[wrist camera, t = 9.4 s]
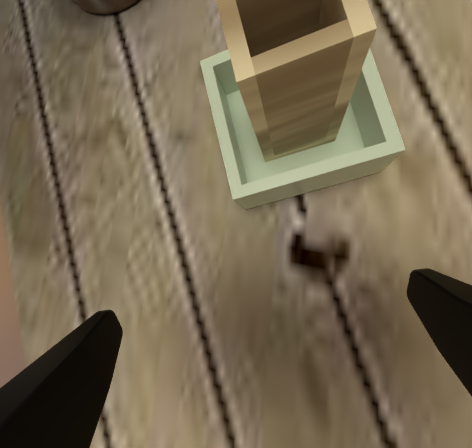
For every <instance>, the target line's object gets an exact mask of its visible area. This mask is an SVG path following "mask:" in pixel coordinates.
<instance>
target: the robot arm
mask: <svg viewBox="0 0 472 448" xmlns="http://www.w3.org/2000/svg"><path fill="white" fill-rule="evenodd" d="M407 297H408V299H409V301H410V303H411V305H412V306H413V308H414V310H415V311H416V313H417V315H418V317H419V318H420V320H421V322H422V323H423V325H424V327H425V328H426V330H427V332H428V334H429V335H430V337H431V339H432V340H433V342H434V344H435V345H436V347H437V348H438V350H439V351H440V353H441V354H442V356H443V357H444V359H445V360H446V361H447V363H448V364H449V366H450V367H451V368H452V370H453V371H454V372H455V374H456V375H457V377H458V378H459V379H460V381H461V382H462V384H463V385H464V386H465V388H466V389H467V390H468V392H469V393H470V395H471V396H472V285H469V284H467V283H464V282H462V281H459V280H457V279H454V278H452V277H449V276H446V275H444V274H441V273H439V272H436V271H434V270H431V269H428V268H425V269H417V270H413V271H412V272H411V273H410V278H409V283H408V288H407ZM122 334H123V331H122V327H121V325H120V323H119V321H118V319H117V317H116V315H115V313H114V312H113V311H112V310H104V311H98V312H96V313H95V314H94V315H92V316H91V317H90V318H89V319H87V320H86V321H85V322H84V323H82V324H81V325H80V326H79V327H77V328H76V329H75V330H73V331H72V332H71V333H70V334H68V335H67V336H66V337H65V338H63V339H62V340H61V341H60V342H58V343H57V344H56V345H54V346H53V347H52V348H51V349H49V350H48V351H47V352H46V353H44V354H43V355H42V356H41V357H39V358H38V359H37V360H35V361H34V362H33V363H32V364H30V365H29V366H28V367H27V368H25V369H24V370H23V371H21V372H20V373H19V374H18V375H16V376H15V377H14V378H13V379H11V380H10V381H9V382H8V383H6V384H5V385H4V386H2V387H1V388H0V448H89V447H90V444H91V441H92V438H93V436H94V433H95V430H96V427H97V424H98V421H99V418H100V415H101V412H102V409H103V406H104V403H105V400H106V397H107V394H108V391H109V388H110V384H111V381H112V377H113V373H114V369H115V364H116V360H117V356H118V352H119V348H120V344H121V339H122Z"/></svg>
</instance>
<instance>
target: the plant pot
mask: <svg viewBox="0 0 472 448" xmlns="http://www.w3.org/2000/svg"><path fill="white" fill-rule="evenodd" d="M73 1H74V2H75V3H76V4H77V5H78V6H79V7H81V8H82V9H83V10H85V11H87V12H90V13H94V14H110V13H114V12H118V11H121V10H123V9H125V8H127V7H129V6H131V5H132V4H134V3H135V2H137V1H138V0H73Z"/></svg>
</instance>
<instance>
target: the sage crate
mask: <svg viewBox="0 0 472 448" xmlns="http://www.w3.org/2000/svg"><path fill="white" fill-rule="evenodd" d="M200 63H201V67H202V72H203V76H204V80H205V84H206V88H207V93H208V97H209V101H210V105H211V109H212V114H213V118H214V122H215V126H216V131H217V135H218V139H219V143H220V147H221V152H222V156H223V160H224V164H225V168H226V173H227V177H228V181H229V185H230V189H231V194H232V198H233V200H234V201H235V202H237V203H238V204H239V205H241V206H242V207H243V208H245V209H249V208H253V207H257V206H260V205H264V204H267V203H271V202H275V201H278V200H282V199H285V198H289V197H293V196H296V195H300V194H303V193H307V192H311V191H314V190H318V189H321V188H325V187H329V186H332V185H336V184H339V183H343V182H347V181H350V180H354V179H357V178H361V177H365V176H368V175H372V174H375V173H379V172H381V171H382V170H383V169H384V168H385V167H387V166H388V165H389V164H390V163H391V162H392V161H393V160H394V159H396V158H397V157H398V156H399V155H400V154H401V153H402V152H404V151H405V150H406V149H405V147H404V144H403V141H402V138H401V135H400V132H399V129H398V127H397V124H396V121H395V118H394V115H393V112H392V110H391V107H390V104H389V101H388V98H387V95H386V92H385V90H384V87H383V84H382V81H381V78H380V75H379V73H378V70H377V67H376V64H375V61H374V58H373V55H372V53H371V50H370V48H369V51H368V53H367V56H366V59H365V61H364V64H363V67H362V70H361V72H360V75H359V78H358V80H357V83H356V86H355V88H354V91H353V94H352V96H351V99H350V102H349V105H348V107H347V110H346V113H345V115H344V118H343V121H342V123H341V126H340V129H339V132H338V134H337V137H336V140H335V141H333V142H330V143H327V144H323V145H320V146H317V147H314V148H310V149H307V150H304V151H300V152H297V153H294V154H291V155H287V156H284V157H281V158H278V159H274V160H271V161H268V162H265V160H264V157H263V154H262V151H261V149H260V146H259V143H258V140H257V137H256V135H255V132H254V129H253V126H252V124H251V121H250V118H249V115H248V113H247V110H246V107H245V104H244V101H243V99H242V96H241V93H240V90H239V88H238V85H237V82H236V78H235V74H234V70H233V66H232V62H231V58H230V54H229V50H225V51H223V52H220V53H218V54H216V55H213V56H211V57H209V58H206V59H204V60H201V61H200Z"/></svg>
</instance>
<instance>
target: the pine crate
mask: <svg viewBox="0 0 472 448" xmlns="http://www.w3.org/2000/svg"><path fill="white" fill-rule="evenodd" d="M216 2H217V6H218V10H219V14H220V18H221V22H222V26H223V30H224V34H225V38H226V42H227V46H228V50H229V54H230V58H231V62H232V66H233V70H234V74H235V78H236V82H237V85H238V88H239V90H240V93H241V96H242V99H243V101H244V104H245V107H246V110H247V113H248V115H249V118H250V121H251V124H252V126H253V129H254V132H255V135H256V137H257V140H258V143H259V146H260V149H261V151H262V154H263V157H264V160H265V162H268V161H271V160H274V159H278V158H281V157H284V156H287V155H291V154H294V153H297V152H300V151H304V150H307V149H310V148H314V147H317V146H320V145H323V144H327V143H330V142H333V141H335V140H336V137H337V134H338V132H339V129H340V126H341V123H342V121H343V118H344V115H345V113H346V110H347V107H348V105H349V102H350V99H351V96H352V94H353V91H354V88H355V86H356V83H357V80H358V78H359V75H360V72H361V70H362V67H363V64H364V61H365V59H366V56H367V53H368V51H369V48H370V45H371V43H372V40H373V37H374V35H375V32H376V29H377V27H376V25H375V22H374V19H373V16H372V13H371V10H370V7H369V5H368V2H367V0H216Z"/></svg>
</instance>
